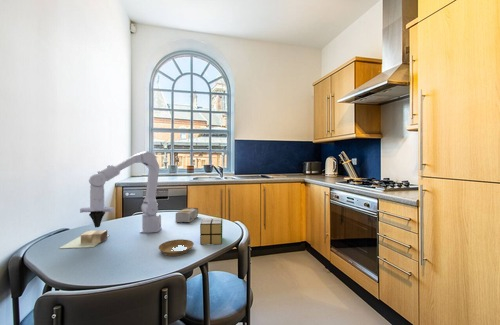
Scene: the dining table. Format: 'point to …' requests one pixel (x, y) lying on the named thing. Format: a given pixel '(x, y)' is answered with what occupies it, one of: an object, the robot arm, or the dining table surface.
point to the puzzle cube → (211, 231)
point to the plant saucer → (168, 246)
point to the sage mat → (78, 244)
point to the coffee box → (186, 215)
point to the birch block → (94, 236)
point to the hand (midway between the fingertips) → (97, 226)
